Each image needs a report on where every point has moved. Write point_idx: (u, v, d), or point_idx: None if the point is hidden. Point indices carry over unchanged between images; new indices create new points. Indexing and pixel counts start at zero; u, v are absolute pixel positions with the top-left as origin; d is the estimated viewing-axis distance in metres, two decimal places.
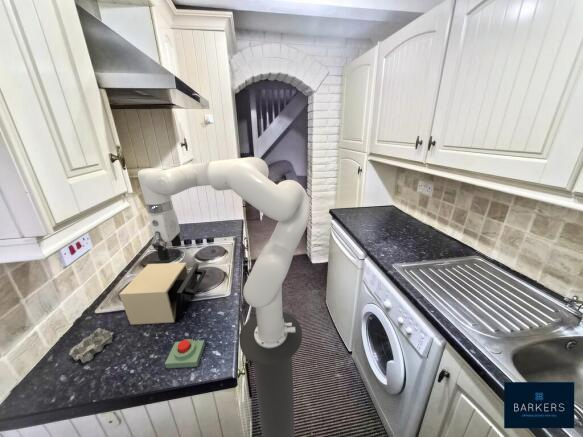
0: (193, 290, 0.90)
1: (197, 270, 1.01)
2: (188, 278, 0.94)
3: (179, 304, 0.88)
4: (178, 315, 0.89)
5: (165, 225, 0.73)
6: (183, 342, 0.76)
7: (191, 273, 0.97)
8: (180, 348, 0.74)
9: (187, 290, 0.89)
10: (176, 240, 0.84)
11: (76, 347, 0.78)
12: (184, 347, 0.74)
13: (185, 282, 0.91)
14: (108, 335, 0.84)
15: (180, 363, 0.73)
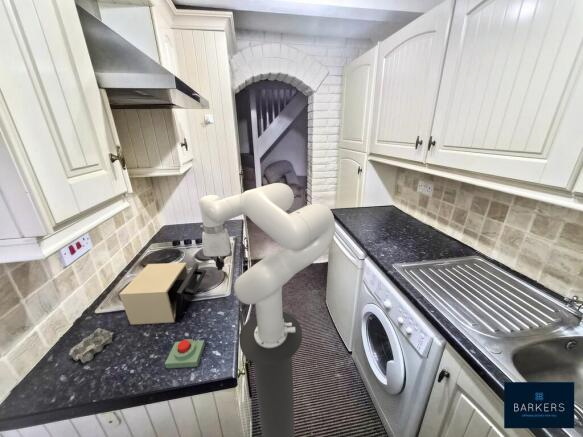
0: (193, 290, 0.90)
1: (197, 270, 1.01)
2: (188, 278, 0.94)
3: (179, 304, 0.88)
4: (178, 315, 0.89)
5: (204, 243, 0.87)
6: (183, 342, 0.76)
7: (191, 273, 0.97)
8: (180, 348, 0.74)
9: (187, 290, 0.89)
10: None
11: (76, 347, 0.78)
12: (184, 347, 0.74)
13: (185, 282, 0.91)
14: (108, 335, 0.84)
15: (180, 363, 0.73)
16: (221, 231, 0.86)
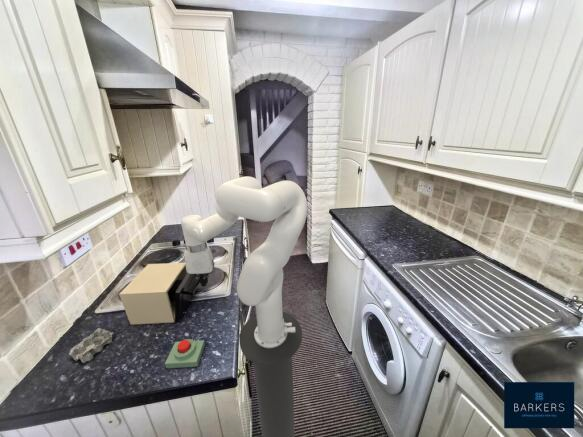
0: (192, 289, 0.90)
1: None
2: (186, 278, 0.94)
3: (178, 304, 0.87)
4: (177, 315, 0.89)
5: (186, 261, 0.89)
6: (183, 342, 0.76)
7: None
8: (180, 348, 0.74)
9: (186, 290, 0.89)
10: None
11: (76, 347, 0.78)
12: (184, 347, 0.74)
13: (183, 282, 0.91)
14: (108, 335, 0.84)
15: (180, 363, 0.73)
16: (203, 249, 0.88)
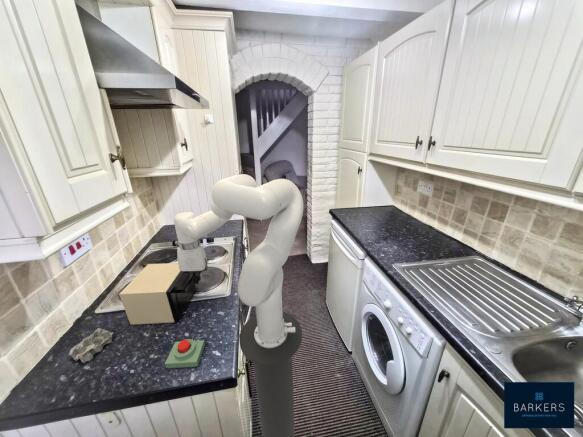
0: (183, 287, 0.89)
1: None
2: (178, 277, 0.93)
3: (172, 303, 0.87)
4: (175, 315, 0.89)
5: (179, 258, 0.89)
6: (183, 342, 0.76)
7: (181, 272, 0.96)
8: (180, 348, 0.74)
9: (177, 288, 0.89)
10: None
11: (76, 347, 0.78)
12: (184, 347, 0.74)
13: (174, 282, 0.91)
14: (108, 335, 0.84)
15: (180, 363, 0.73)
16: (196, 247, 0.87)
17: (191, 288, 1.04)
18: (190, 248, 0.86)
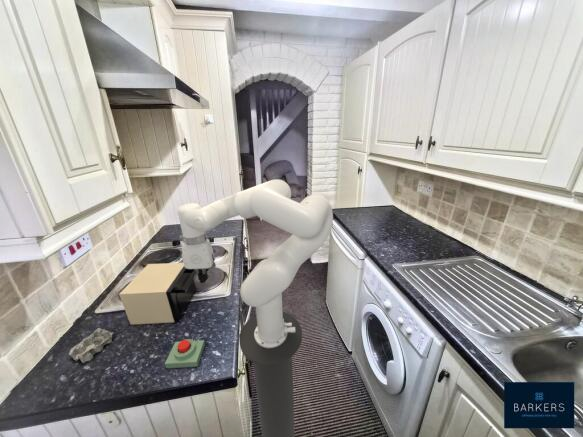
0: (183, 287, 0.89)
1: (188, 269, 1.01)
2: (178, 277, 0.93)
3: (172, 303, 0.87)
4: (175, 315, 0.89)
5: (184, 254, 0.81)
6: (183, 342, 0.76)
7: (181, 272, 0.96)
8: (180, 348, 0.74)
9: (177, 288, 0.89)
10: None
11: (76, 347, 0.78)
12: (184, 347, 0.74)
13: (174, 282, 0.91)
14: (108, 335, 0.84)
15: (180, 363, 0.73)
16: (202, 242, 0.79)
17: (191, 288, 1.04)
18: (196, 243, 0.78)
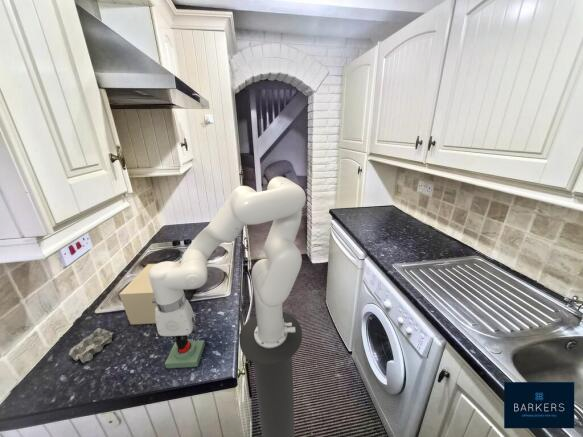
0: None
1: None
2: None
3: None
4: None
5: (157, 321, 0.68)
6: None
7: None
8: (180, 349, 0.74)
9: None
10: None
11: (76, 347, 0.78)
12: (184, 348, 0.74)
13: None
14: (108, 335, 0.84)
15: (180, 363, 0.73)
16: (179, 307, 0.67)
17: None
18: (171, 310, 0.65)
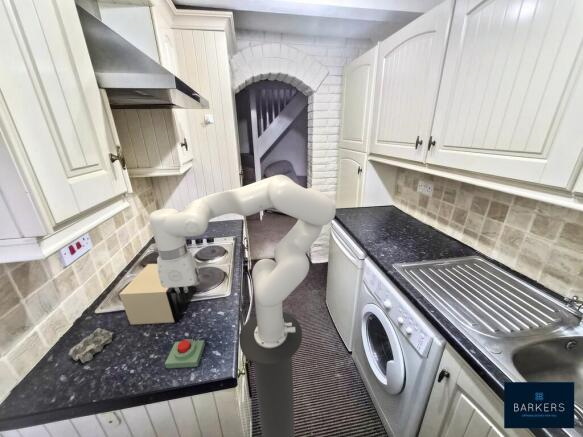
0: None
1: None
2: None
3: (172, 303, 0.87)
4: (175, 315, 0.89)
5: (160, 271, 0.66)
6: (183, 342, 0.76)
7: None
8: (180, 348, 0.74)
9: None
10: None
11: (76, 347, 0.78)
12: (184, 347, 0.74)
13: None
14: (108, 335, 0.84)
15: (180, 363, 0.73)
16: (181, 255, 0.65)
17: (191, 288, 1.04)
18: (174, 257, 0.64)
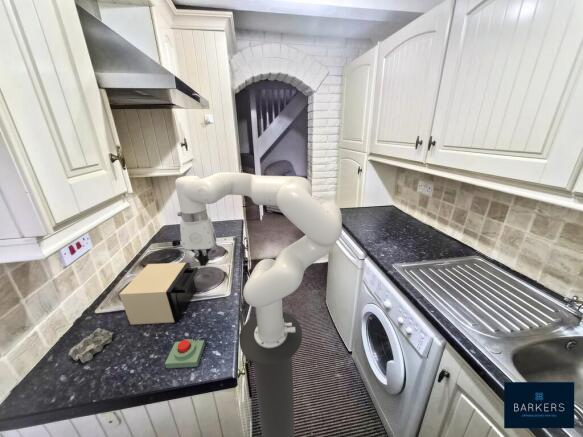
0: (183, 287, 0.89)
1: (188, 269, 1.01)
2: (178, 277, 0.93)
3: (172, 303, 0.87)
4: (175, 315, 0.89)
5: (182, 233, 0.73)
6: (183, 342, 0.76)
7: (181, 272, 0.96)
8: (180, 348, 0.74)
9: (177, 288, 0.89)
10: None
11: (76, 347, 0.78)
12: (184, 347, 0.74)
13: (174, 282, 0.91)
14: (108, 335, 0.84)
15: (180, 363, 0.73)
16: (202, 219, 0.72)
17: (191, 288, 1.04)
18: (196, 220, 0.70)
